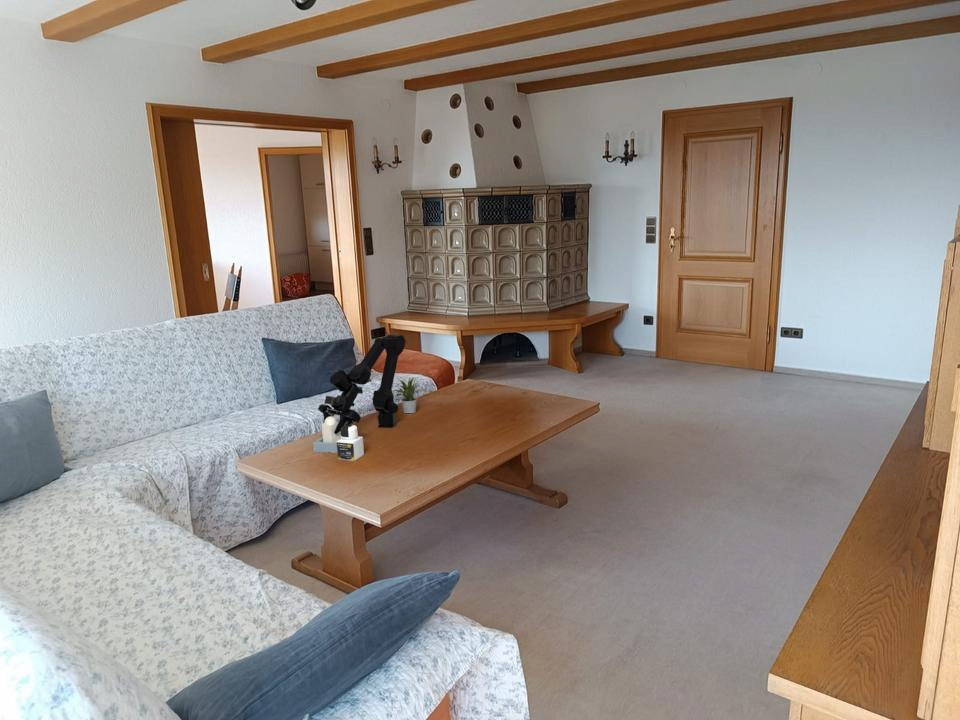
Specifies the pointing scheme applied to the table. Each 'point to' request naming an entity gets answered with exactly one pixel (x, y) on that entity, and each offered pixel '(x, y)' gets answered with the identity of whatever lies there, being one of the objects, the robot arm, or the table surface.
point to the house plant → (408, 396)
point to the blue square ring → (324, 446)
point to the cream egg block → (330, 430)
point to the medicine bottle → (350, 444)
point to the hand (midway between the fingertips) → (328, 432)
